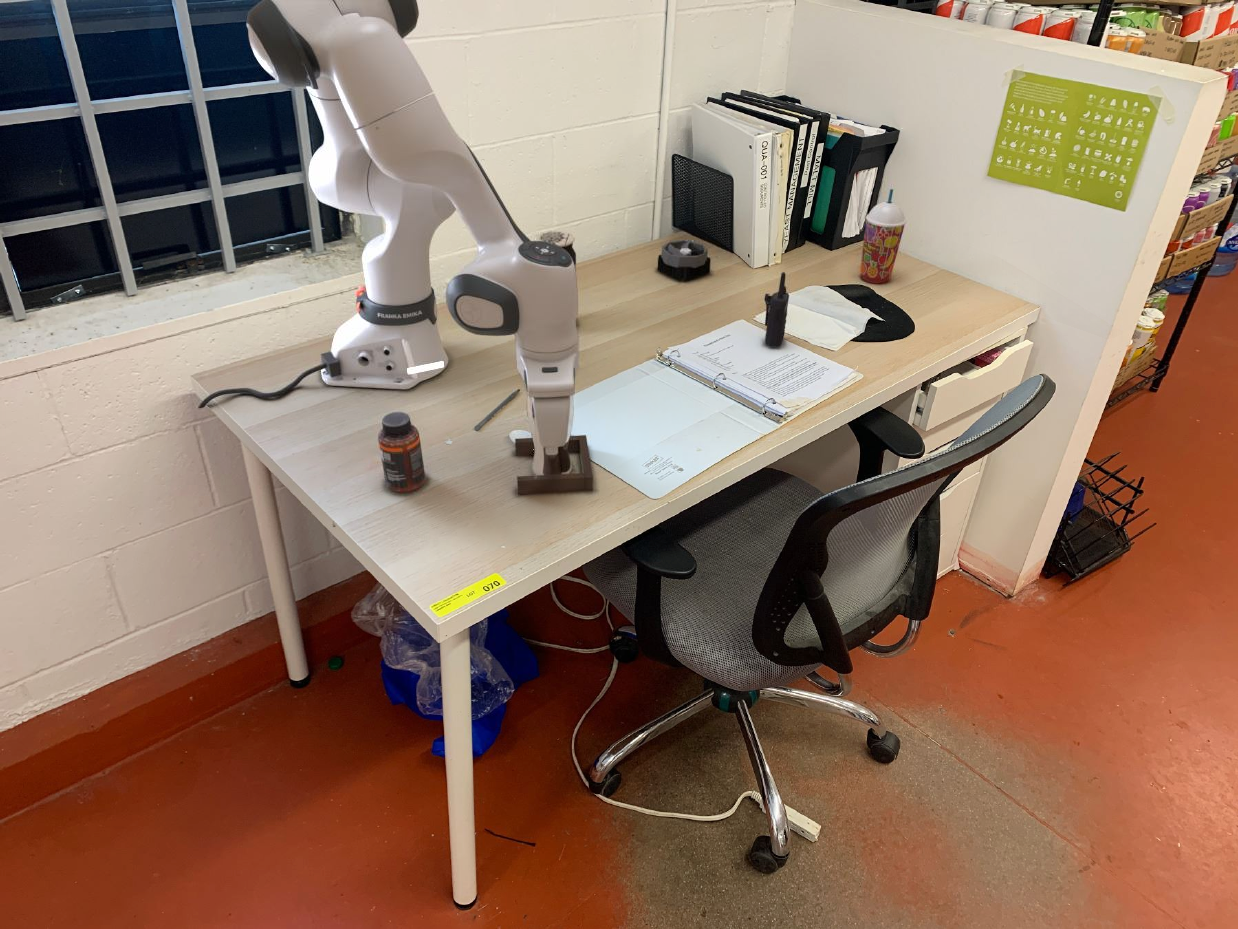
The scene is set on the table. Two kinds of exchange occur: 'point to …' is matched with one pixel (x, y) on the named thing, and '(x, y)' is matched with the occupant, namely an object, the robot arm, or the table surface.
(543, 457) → the beer glass
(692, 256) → the cpu cooler
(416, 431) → the supplement bottle
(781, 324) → the two-way radio
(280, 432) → the table surface
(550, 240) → the travel mug
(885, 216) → the smoothie
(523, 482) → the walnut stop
